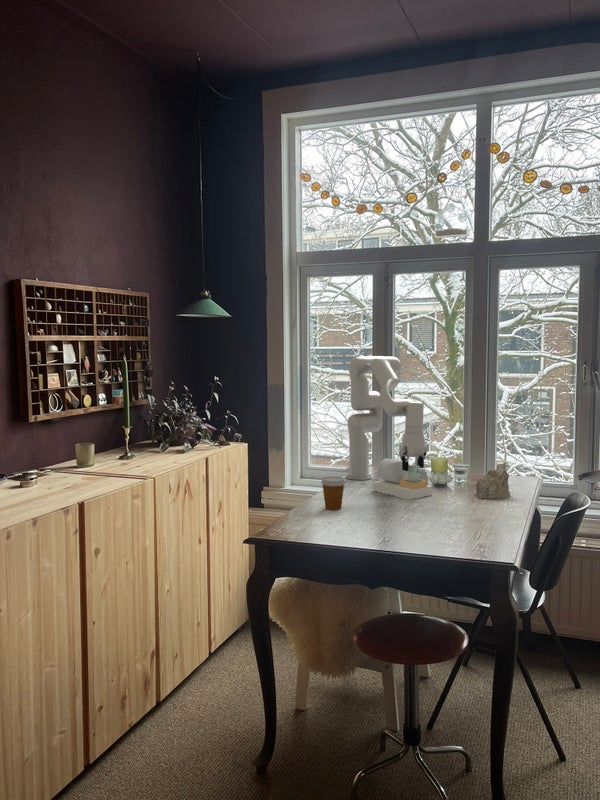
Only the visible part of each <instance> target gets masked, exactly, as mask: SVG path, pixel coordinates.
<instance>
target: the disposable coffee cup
mask: <svg viewBox="0 0 600 800" xmlns="http://www.w3.org/2000/svg"><path fill="white" fill-rule="evenodd" d="M321 484H322V485H321V486H322V491H323V498H324V499H323V500H324V507H325V510H329V511H340V510H342V504H343V496H344V489H345V484H346V481H345V478H344V477H341V476H325V477H323V478H322V481H321Z"/></svg>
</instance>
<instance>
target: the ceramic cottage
mask: <svg viewBox="0 0 600 800" xmlns="http://www.w3.org/2000/svg"><path fill="white" fill-rule="evenodd" d="M506 465H507V462H502V464H497V465H496V468H495V469H491V470H488V472H487V473H486V474H485V475H484V476H483V478H482V479H478V480H477V482H476V487H475V488H476V489H475V492H474V496H475V497H477V498H478V497H479V499H483V498H484V499H487V498H490V499H491V498H492V499H493V498H501V499H507V498H506V497H509V498H510V497H511V492H510V491H509V489H510V487H509V486H510V485H509V478H510V475H509V473H508V472H507V466H506Z"/></svg>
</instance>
